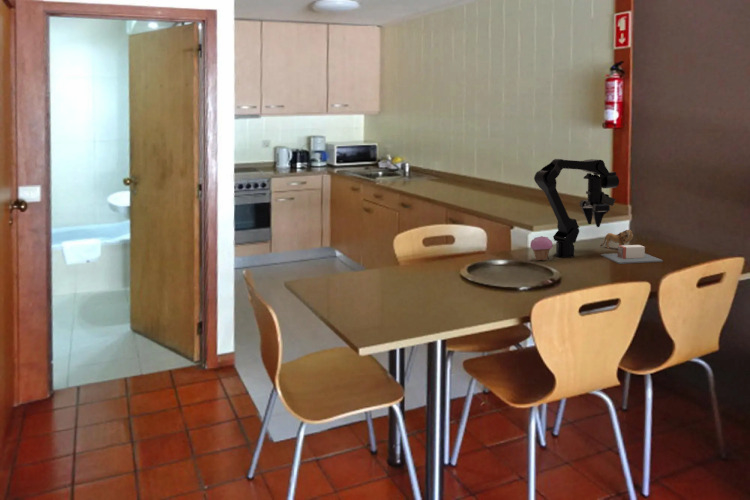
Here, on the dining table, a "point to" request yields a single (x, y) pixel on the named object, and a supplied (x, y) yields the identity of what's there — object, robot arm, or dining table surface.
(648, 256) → the mat
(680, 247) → the dining table surface
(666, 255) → the dining table surface
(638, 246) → the beige rectangular block
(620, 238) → the lion figurine
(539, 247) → the cupcake
